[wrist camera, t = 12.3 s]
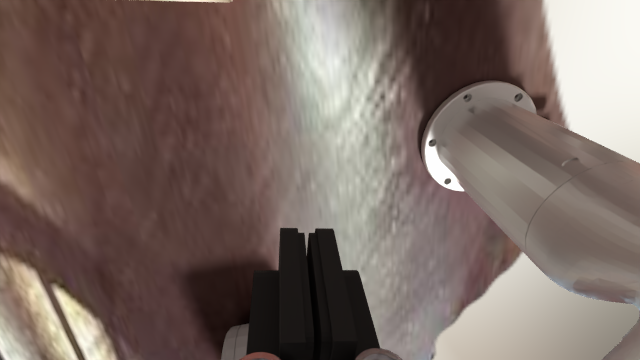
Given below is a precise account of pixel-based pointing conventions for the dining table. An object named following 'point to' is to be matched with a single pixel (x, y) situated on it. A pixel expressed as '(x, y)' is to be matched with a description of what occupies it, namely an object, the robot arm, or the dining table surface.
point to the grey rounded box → (235, 343)
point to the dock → (199, 0)
